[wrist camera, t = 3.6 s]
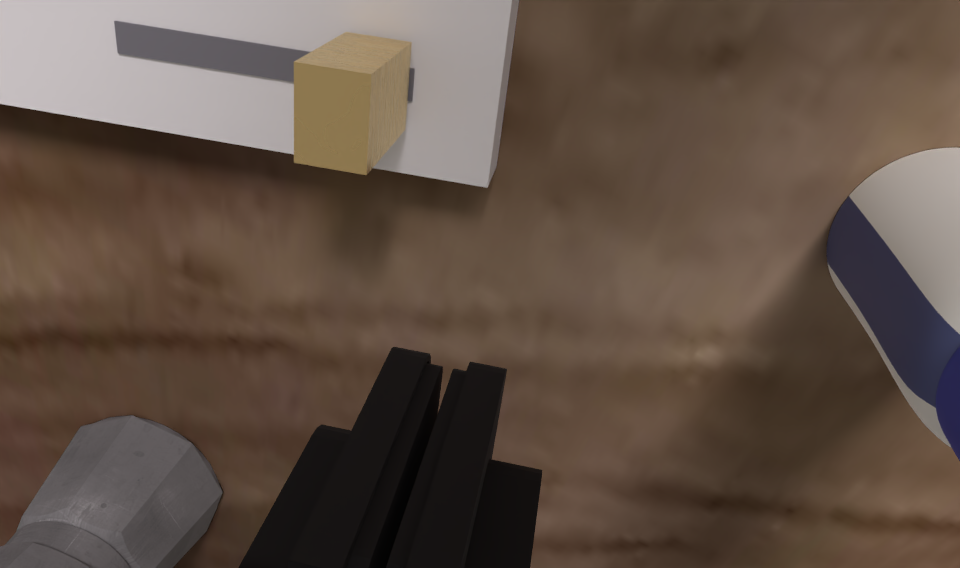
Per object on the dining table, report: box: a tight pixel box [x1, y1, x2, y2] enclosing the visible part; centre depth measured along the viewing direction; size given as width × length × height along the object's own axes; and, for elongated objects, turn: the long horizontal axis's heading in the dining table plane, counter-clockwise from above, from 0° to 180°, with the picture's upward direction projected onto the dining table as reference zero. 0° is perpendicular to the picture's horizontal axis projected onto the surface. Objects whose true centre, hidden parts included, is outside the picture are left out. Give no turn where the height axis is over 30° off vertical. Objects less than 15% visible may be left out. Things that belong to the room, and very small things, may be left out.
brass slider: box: [294, 32, 412, 175], centre depth 26 cm, size 2×3×5 cm
